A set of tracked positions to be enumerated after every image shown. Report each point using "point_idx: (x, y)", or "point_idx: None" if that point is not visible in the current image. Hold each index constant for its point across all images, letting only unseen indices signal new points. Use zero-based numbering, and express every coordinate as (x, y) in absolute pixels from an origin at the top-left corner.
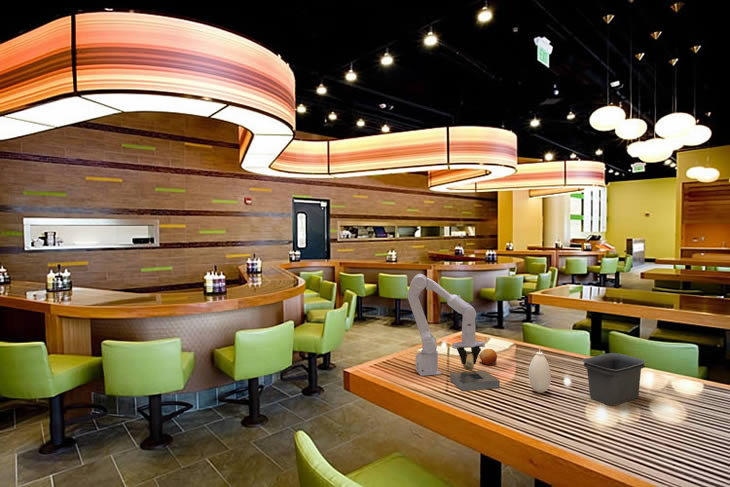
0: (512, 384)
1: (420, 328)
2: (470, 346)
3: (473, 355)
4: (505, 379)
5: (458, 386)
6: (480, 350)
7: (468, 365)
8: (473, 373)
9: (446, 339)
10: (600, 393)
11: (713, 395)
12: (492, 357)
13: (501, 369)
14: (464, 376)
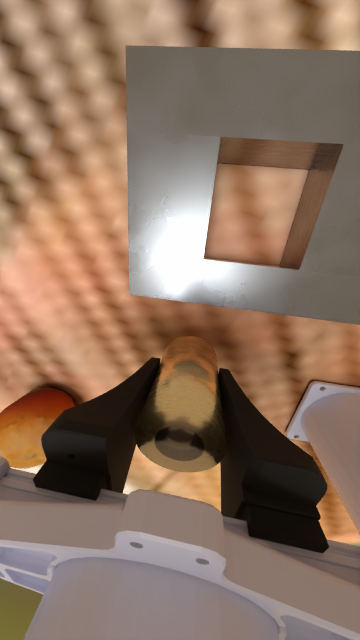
0: (47, 138)
1: None
2: (223, 528)
3: (154, 398)
4: (57, 228)
5: None
6: (65, 413)
7: (205, 354)
8: (224, 270)
9: None
10: None
11: None
12: (23, 407)
13: (33, 342)
14: (327, 234)
